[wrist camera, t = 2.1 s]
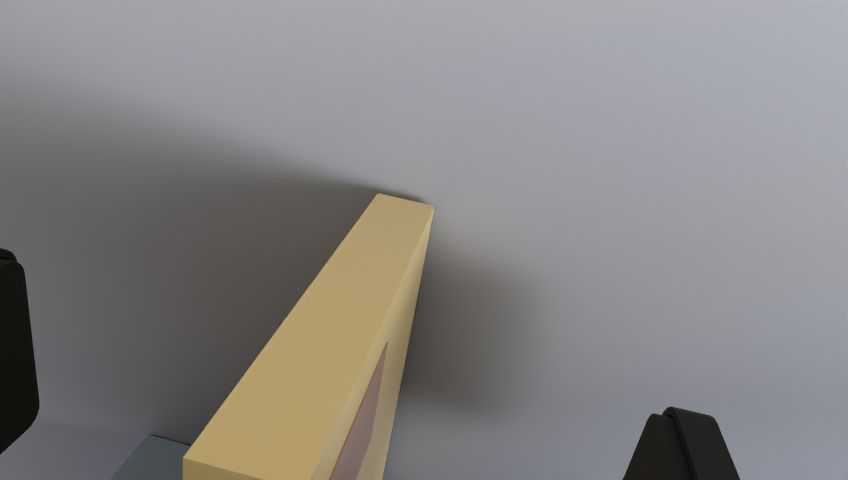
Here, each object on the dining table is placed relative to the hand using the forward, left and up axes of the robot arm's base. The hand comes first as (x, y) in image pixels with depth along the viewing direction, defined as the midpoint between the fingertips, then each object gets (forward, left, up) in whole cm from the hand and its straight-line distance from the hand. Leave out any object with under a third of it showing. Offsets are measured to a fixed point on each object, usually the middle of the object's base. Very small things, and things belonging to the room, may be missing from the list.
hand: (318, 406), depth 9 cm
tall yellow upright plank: (0, +4, -3) cm, 5 cm away
